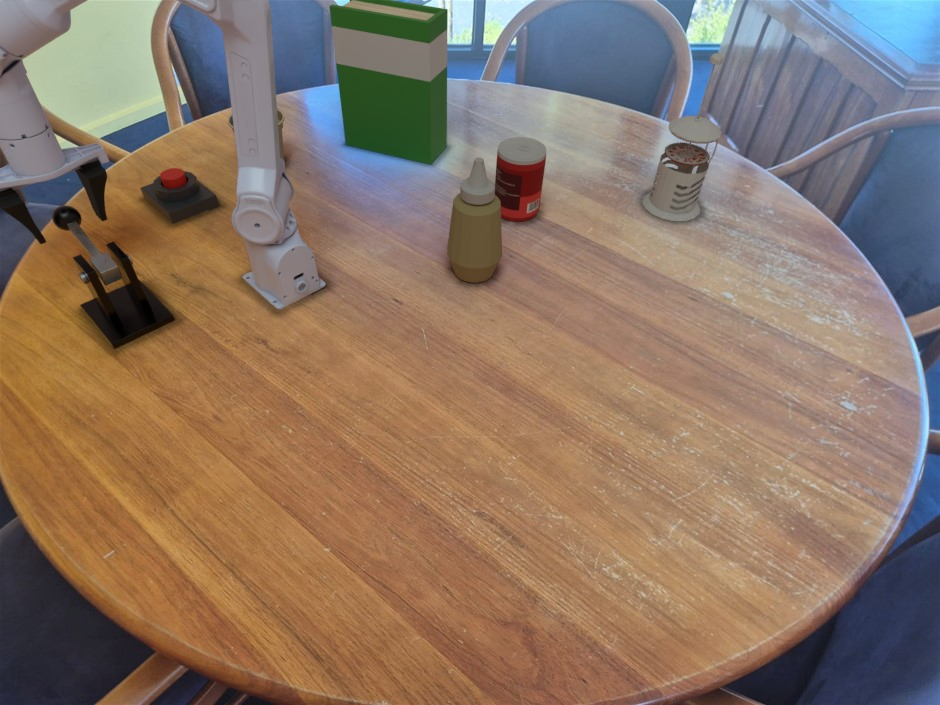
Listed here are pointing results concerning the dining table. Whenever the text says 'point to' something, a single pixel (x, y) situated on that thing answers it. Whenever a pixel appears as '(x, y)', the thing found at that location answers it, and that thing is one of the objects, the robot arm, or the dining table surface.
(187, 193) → the button box
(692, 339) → the dining table surface
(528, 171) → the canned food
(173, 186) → the button
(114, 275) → the lever
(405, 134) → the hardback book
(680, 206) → the french press
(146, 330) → the bracket
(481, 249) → the squeeze bottle
